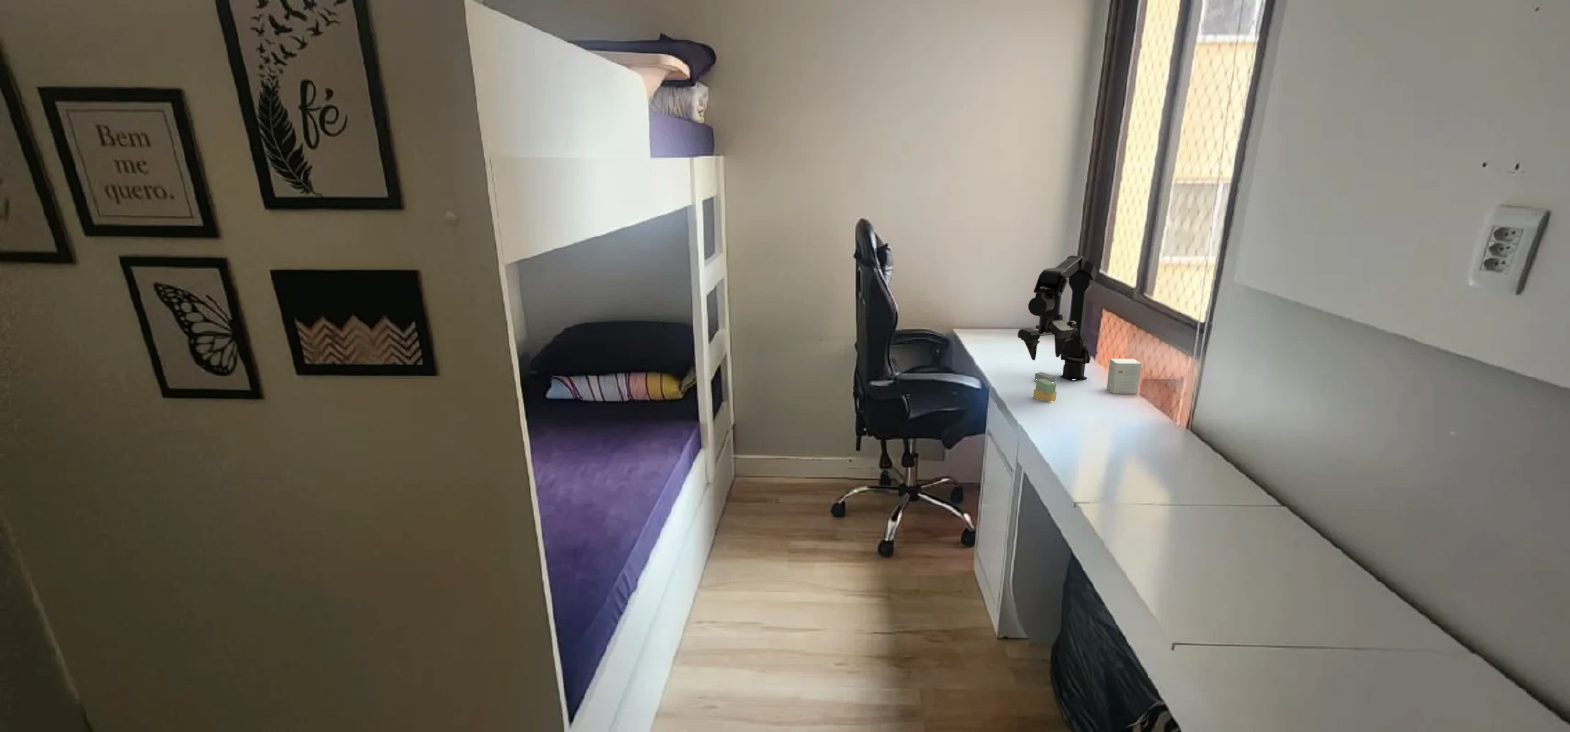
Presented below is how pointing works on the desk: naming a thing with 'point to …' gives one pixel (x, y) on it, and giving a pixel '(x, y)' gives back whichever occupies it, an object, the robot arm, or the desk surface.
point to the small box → (1123, 376)
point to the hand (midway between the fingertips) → (1045, 358)
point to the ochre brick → (1044, 395)
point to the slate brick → (1045, 376)
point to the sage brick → (1045, 386)
